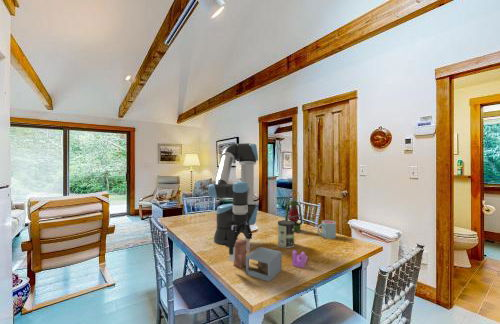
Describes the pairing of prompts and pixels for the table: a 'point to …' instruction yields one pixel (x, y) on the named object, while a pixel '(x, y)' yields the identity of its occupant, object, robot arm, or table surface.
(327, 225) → the mug
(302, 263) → the bracket
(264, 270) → the reddish brown block
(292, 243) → the coffee can
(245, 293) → the table surface
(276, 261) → the box
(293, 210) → the lantern
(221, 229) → the robot arm
